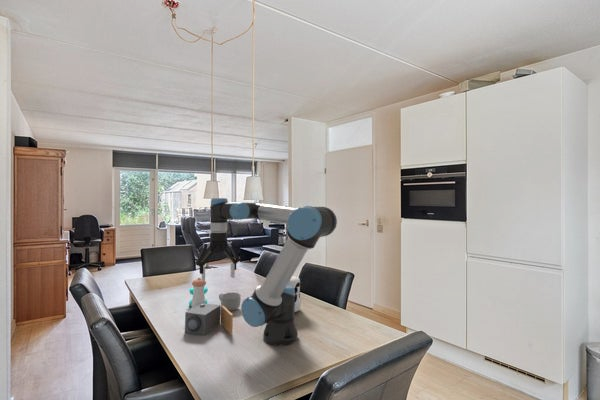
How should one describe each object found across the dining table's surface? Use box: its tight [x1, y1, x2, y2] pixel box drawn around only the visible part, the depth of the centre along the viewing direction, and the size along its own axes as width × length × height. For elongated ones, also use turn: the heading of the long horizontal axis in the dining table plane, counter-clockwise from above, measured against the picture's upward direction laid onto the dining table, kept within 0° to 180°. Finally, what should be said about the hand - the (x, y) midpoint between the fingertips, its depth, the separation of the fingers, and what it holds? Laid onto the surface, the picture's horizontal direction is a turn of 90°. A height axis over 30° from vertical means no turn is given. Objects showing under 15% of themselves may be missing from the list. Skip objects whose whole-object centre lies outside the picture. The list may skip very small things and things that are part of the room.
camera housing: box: [184, 303, 221, 336], centre depth 146 cm, size 10×16×10 cm, turn 166°
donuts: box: [188, 286, 208, 308], centre depth 179 cm, size 10×10×10 cm
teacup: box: [218, 292, 241, 312], centre depth 175 cm, size 14×11×8 cm
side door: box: [220, 305, 234, 334], centre depth 147 cm, size 1×15×8 cm, turn 31°
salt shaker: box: [190, 277, 207, 310], centre depth 165 cm, size 7×7×19 cm
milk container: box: [287, 275, 302, 314], centre depth 173 cm, size 17×17×18 cm
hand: (218, 279), depth 142 cm, fingers open, 13 cm apart
